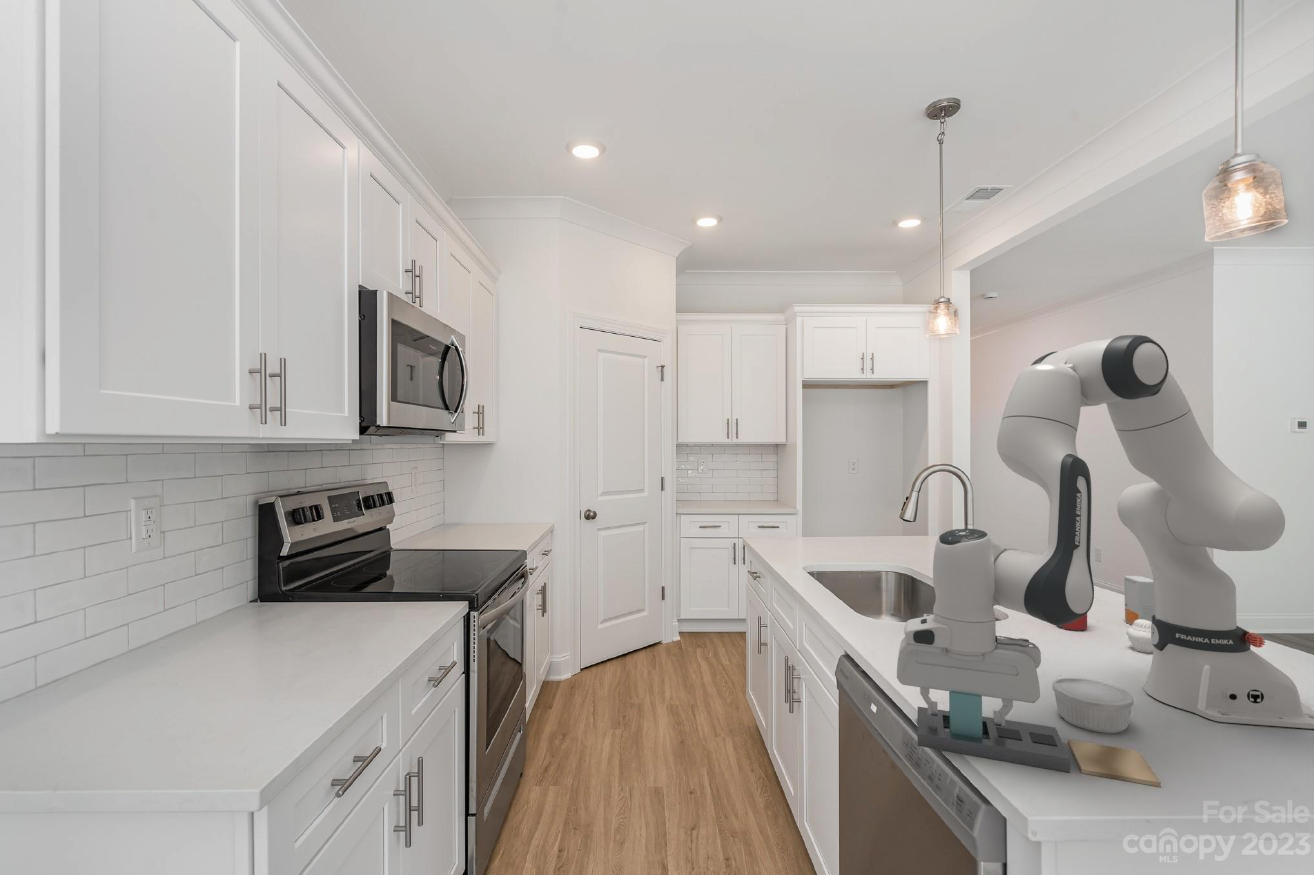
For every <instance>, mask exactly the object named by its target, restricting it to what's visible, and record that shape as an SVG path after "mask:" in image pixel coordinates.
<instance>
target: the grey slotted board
mask: <svg viewBox="0 0 1314 875" xmlns="http://www.w3.org/2000/svg"><path fill="white" fill-rule="evenodd" d="M945 728H947V729H948V728H949V729H950V722H949V710H944V709H943V710H942V709H938V716H932V715H928V707H923V706H917V747H923V748H928V749H934V750H939V751H944V752H951V753H956V754H960V755H961V754H962V755H968V756H972V757H979V758H985V759H990V760H996V761H1002V762H1007V763H1013V764H1019V765H1024V766H1031V767H1034V768H1035V767H1036V768H1041V769H1048V770H1053V771H1059V772H1063V773H1064V772H1065V773H1069V774H1070V773H1071V758H1070V756H1069V753H1068V751H1067V749H1066V747H1065V745H1064V743H1063V741H1062V739H1061V736H1060V735H1059V732H1058V730H1057V728H1056V727H1054V726H1048V725H1042V724H1035V723H1031V722H1030V723H1029V722H1024V721H1023V722H1021V721H1017V720H1010V719H1009V720H1008V719H1005V727H1002V726H996V725H994V722H993V717H990V716H983V715H982V734H986V737H987V738H983V737H982V738H983V739H982V738H976V737H970V736H963V735H957V734H951V733H950V732H945Z"/></svg>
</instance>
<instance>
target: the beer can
mask: <svg viewBox="0 0 1314 875" xmlns="http://www.w3.org/2000/svg"><path fill="white" fill-rule="evenodd" d="M1057 627H1059V628H1060V629H1063V630H1067V631H1073V632H1081V631H1082V632H1083V631H1085V630H1087V628H1088V612H1087V613H1086V614H1085V615H1084V616H1083V617H1081V618H1080V619H1078V620H1076V621H1074V622H1072V623H1070V624H1067V625H1064V626H1057Z"/></svg>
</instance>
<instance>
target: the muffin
mask: <svg viewBox="0 0 1314 875" xmlns="http://www.w3.org/2000/svg"><path fill="white" fill-rule="evenodd" d="M1151 624H1152V622H1150V621H1148V620H1144V619H1142V620H1141V619H1138V620H1135V621H1134V623H1133V625H1131V626H1129V627H1128V628H1127V629H1126V631H1125V634H1126V636H1127V639H1128V640H1129V642H1130V644H1131V645H1132V647H1133V649H1134V650H1135V651H1138V652H1139V653H1140V652H1141V653H1147V654H1153V650H1154V646H1153V645H1152V640H1151Z"/></svg>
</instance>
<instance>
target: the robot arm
mask: <svg viewBox="0 0 1314 875" xmlns="http://www.w3.org/2000/svg"><path fill="white" fill-rule="evenodd" d="M1168 358H1169V357H1168V355H1167V353H1166V351H1165V349H1164V348H1163V347H1162V346H1161V345H1160V343H1158V342H1156V341H1155V340H1154V339H1153V338H1151V337H1150V336H1147V335H1142V334H1141V335H1140V334H1127V335H1126V334H1125V335H1119V336H1116V337H1113V338H1106V339H1097V340H1091V341H1087V342H1083V343H1080V344H1078V345H1075V346H1070V347H1068V348H1065V349H1062V350H1059V351H1052V352H1048V353H1046V354H1044V355H1042V356H1040V357H1038V358H1037V359H1035V360H1034V361H1033V362H1031V364H1030V365H1029V366H1027V367H1026V368H1024V369H1023V370H1021V372H1020V373H1019V375H1018V376H1017V378H1016V379H1015V381H1014V384H1013V385H1012V388H1011V390H1010V392H1009V395H1008V398H1007V401H1006V403H1005V407H1004V411H1003V414H1002V416H1001V421H1000V424H999V429H998V433H997V439H996V443H997V444H996V449H997V453H998V456H999V457H1000V459H1001V461H1002V462H1003V463H1004V464H1005V466H1006V467H1007V469H1010V470H1011V471H1012V472H1014V473H1015V474H1017V475H1019V476H1020V477H1022V478H1024V479H1027V480H1029V481H1031V482H1033V483H1035V484H1036V485H1038V486H1039V487H1041V488H1042V490H1044V491H1045V493H1046V495H1047V498H1048V500H1049V501H1048V502H1049V516H1048V519H1049V520H1048V540H1047V541H1048V542H1047V548H1046V551H1044V553H1038V552H1037V553H1036V552H1030V551H1024V550H1020V549H1018V548H1012V547H1008V546H1006V545H1002V543H1001V544H1000V543H999V542H996V541H995V540H993V539H992V538H990V535H989V533H987V532H986V531H984V530H981V529H977V528H956V529H951V530H947V531H944V532H943V533H942V534H940V535H939V536H938V538H937V540H936V542H935V547H934V551H933V560H932V561H933V562H932V586H933V589H934V592H935V601H934V605H933V609H932V611H933V612H932V613H933V614H930V615H931V616H926V617H924V616H921V617H917V618H916V617H915V618H912V619H908V620H906V622H905V625H904V628H903V629H904V630H903V631H904V634H903V635H904V636H903V638H902V640H901V641H900V643H899V649H898V656H897V661H896V662H897V664H896V679H897V680H898V682H899V683H900V684H901V685H903V686H908V687H916V688H919V694H920V696H921V697H922V699H923V701H924V702H925V705H926V706H927V708H928V715H932V716H938V710H939V708H938V702H937V701H934V700H932V698H931V697H930V690H937V691H944V692H949V691H952V692H959V693H966V694H973V695H980V696H982V697H986V698H994V699H1000V700H1001V704H1002V705H1001V707H1000V708H999V709H998V710H994V709H993V710H992V715H993V717H992V718H993V722H994V725H996V726H1002V727H1005V720H1006V717H1007V716H1008V715H1009V713H1010V712H1011V711H1012V710H1013V708H1014V702H1020V703H1021V702H1023V703H1029V704H1030V703H1031V704H1035V703H1036V702H1038V700H1039V699H1040V698H1041V689H1040V681H1039V675H1038V671H1037V669H1038V668H1039V667H1040V666H1041V663H1042V656H1041V655H1042V652H1041V649H1040V648H1039V647H1038V645H1036V644H1035V643H1033V642H1031V641H1030V640H1029V639H1027V638H1022V637H1021V638H1015V637H1014V638H1013V637H1009V636H1003V635H997V634H996V633H997V632H996V630H997V629H996V628H997V627H996V625H997V624H996V619H997V618H996V613H995V609H994V607H995V606H1000V607H1002V608H1005V609H1007V610H1011V611H1015V612H1019V613H1022V614H1025V615H1028V616H1031V617H1033V618H1035V619H1036V620H1037V619H1038V620H1040V621H1043V622H1045V623H1048V624H1050V625H1053V626H1056V627H1058V626H1064V625H1067V624H1070V623H1072V622H1074V621H1076V620H1078V619H1080V618H1081V617H1083V616H1084V615H1085V614H1086V613H1087V614H1088V613H1089V612H1090V610H1091V608H1092V607H1093V603H1094V599H1095V587H1094V586H1095V585H1094V580H1093V574H1092V573H1093V572H1092V567H1091V565H1092V564H1091V547H1092V546H1091V545H1092V544H1091V540H1092V539H1091V537H1092V534H1091V533H1092V501H1093V500H1092V478H1091V477H1092V476H1091V472H1090V468H1089V466H1088V463H1087V462H1086V461H1085V460H1083V459H1082V458H1080V457H1079V454H1078V451H1077V443H1076V440H1077V434H1078V428H1079V424H1080V417H1081V408H1083V407H1084V408H1085V407H1094V406H1095V407H1096V406H1100V405H1103V404H1106V408H1107V411H1108V414H1109V418H1110V420H1111V422H1112V425H1113V428H1114V429H1115V433H1116V435H1117V437H1118V438H1119V441H1120V443H1121V445H1122V448H1123V450H1124V453H1125V455H1126V457H1127V460H1128V461H1129V464H1130V465H1131V466H1132V467H1133V468H1134V469H1135V470H1136V471H1138V472H1139V473H1141V474H1143V475H1144V476H1146V477H1148V478H1149V479H1151V480H1152V481H1151V482H1150V481H1149V482H1143V483H1137V484H1136V483H1135V484H1133V485H1130V486H1128V487H1126V488H1125V489H1124V490H1123V491H1122V493H1121V494H1120V496H1119V498H1118V501H1117V504H1116V506H1117V508H1116V509H1117V510H1116V511H1117V515H1118V518H1119V520H1120V522H1121V523H1122V524H1123V526H1124V527H1126V528H1127V529H1128V530H1129V531H1130V532H1131V533H1132V534H1133V535H1134V537H1135V538H1136V539H1137V540H1138V543H1139V544H1140V546H1141V548H1142V549H1143V552H1144V553H1145V556H1146V558H1147V561H1148V564H1149V566H1150V569H1151V574H1152V575H1151V576H1152V580H1153V584H1154V601H1155V614H1154V615H1152V624H1151V640H1152V645H1153V646H1154V650H1153V653H1152V659H1151V664H1150V670H1149V673H1148V677H1147V680H1146V683H1145V685H1144V688H1143V689H1144V691H1145V692H1146V693H1147V694H1148V695H1149V696H1151V697H1152V698H1154V699H1156V700H1157V701H1159V702H1162V703H1164V704H1167V705H1170V706H1172V707H1176V708H1178V709H1181V710H1184V711H1188V712H1191V713H1194V714H1196V715H1198V716H1201V717H1203V718H1206V719H1209V720H1211V721H1215V722H1219V723H1227V724H1228V723H1231V724H1243V725H1245V724H1246V725H1258V726H1271V727H1282V728H1283V727H1284V728H1298V729H1299V728H1300V729H1311V730H1314V710H1313V709H1312V708H1310V707H1309V706H1307V705H1305V703H1303V702H1302V701H1301V700H1302V699H1301V696H1300V694H1299V690H1298V687H1297V685H1296V683H1294V681H1293V680H1292V678H1291V677H1290V676H1288V674H1286V673H1285V672H1284V671H1283V670H1281V669H1279V668H1278V667H1277V666H1275V665H1274V664H1273V663H1271V662H1270V661H1268V659H1265V658H1264V657H1263V656H1261V655H1260V654H1258V653H1257V652H1256V651H1255V650H1252V649H1251V646H1253V647H1254V648H1257V649H1258V648H1263V647H1264V646H1265V645H1266V640H1265V639H1264V638H1263V636H1261V635H1259V634H1257V633H1255V632H1250V631H1248V630H1246V629H1244V628H1242V627H1241V626H1238V625H1237V624H1238V623H1237V622H1238V621H1237V587H1236V586H1237V585H1236V584H1235V581H1234V580H1233V579H1232V577H1231V576H1230V575H1229V574H1228V573H1226V572H1225V571H1224V570H1223V569H1221V568H1220V567H1219V566H1218V565H1217V564H1216V563H1215V561H1213V559H1212V557H1211V556H1210V553H1209V552H1208V549H1214V550H1220V551H1226V552H1251V551H1252V552H1257V551H1259V552H1260V551H1265V550H1268V549H1270V548H1272V547H1273V546H1274V545H1276V544H1277V543H1278V541H1280V539H1281V538H1282V536H1283V534H1284V532H1285V529H1286V528H1285V527H1286V517H1285V514H1284V511H1283V508H1282V507H1281V505H1280V504H1279V503H1278V501H1277V500H1276V499H1274V498H1273V497H1272V496H1270V495H1268V494H1266V493H1264V492H1261V491H1259V490H1258V489H1256V488H1254V487H1253V486H1250V484H1248V483H1247V482H1245V481H1244V480H1243V479H1241V478H1240V477H1239V476H1237V475H1236V474H1235V473H1234V472H1233V471H1232V470H1230V468H1229V467H1227V466H1226V465H1225V463H1223V461H1221V459H1220V458H1219V457H1218V456H1217V455H1216V453H1215V452H1214V451H1213V450H1212V449H1211V447H1210V445H1209V443H1207V441H1206V438H1205V436H1204V434H1203V433H1202V430H1201V429H1200V428H1201V427H1200V426H1199V424H1198V421H1197V420H1196V417H1195V415H1194V413H1193V410H1192V408H1191V406H1190V404H1189V400H1188V399H1187V398H1186V395H1185V393H1184V392H1183V390H1182V388H1181V386H1180V385H1179V383H1178V382H1177V380H1176V378H1175V377H1174V376H1173V374H1172V373H1171V371H1170V370H1169V368H1170V366H1169V365H1170V364H1169V363H1170V362H1169V359H1168ZM1207 548H1208V549H1207Z"/></svg>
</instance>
